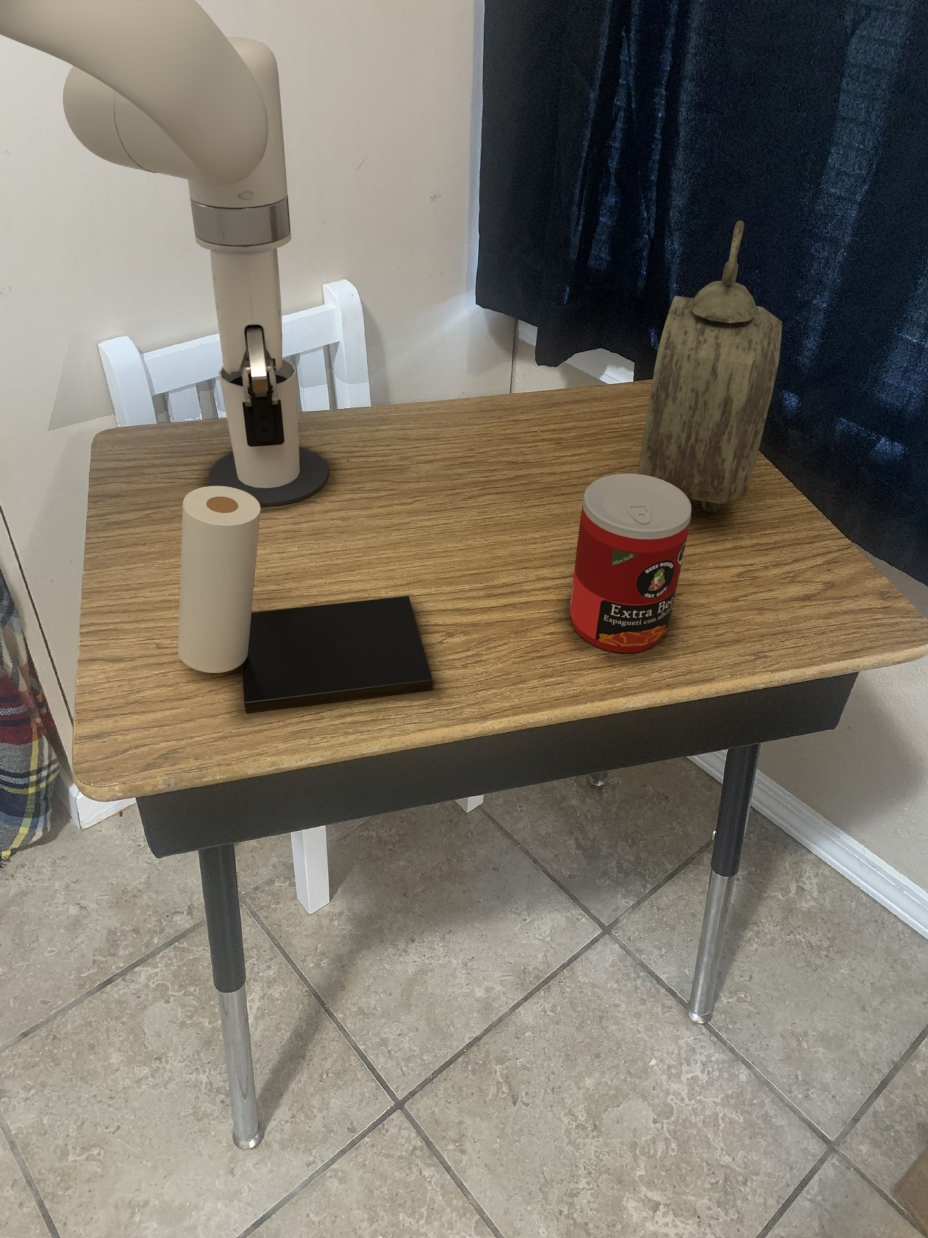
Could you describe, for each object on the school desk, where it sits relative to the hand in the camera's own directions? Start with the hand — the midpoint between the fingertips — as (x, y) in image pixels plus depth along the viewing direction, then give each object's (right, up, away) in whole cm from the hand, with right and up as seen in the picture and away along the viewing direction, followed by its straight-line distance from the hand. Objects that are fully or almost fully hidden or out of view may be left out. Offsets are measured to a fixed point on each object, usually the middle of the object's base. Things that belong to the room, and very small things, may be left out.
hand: (263, 421), depth 88 cm
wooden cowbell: (+39, -8, +1) cm, 39 cm away
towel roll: (+4, -15, -22) cm, 27 cm away
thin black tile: (+8, -21, -17) cm, 28 cm away
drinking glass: (0, -4, +3) cm, 5 cm away
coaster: (0, -4, +3) cm, 6 cm away
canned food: (+30, -18, -12) cm, 37 cm away
